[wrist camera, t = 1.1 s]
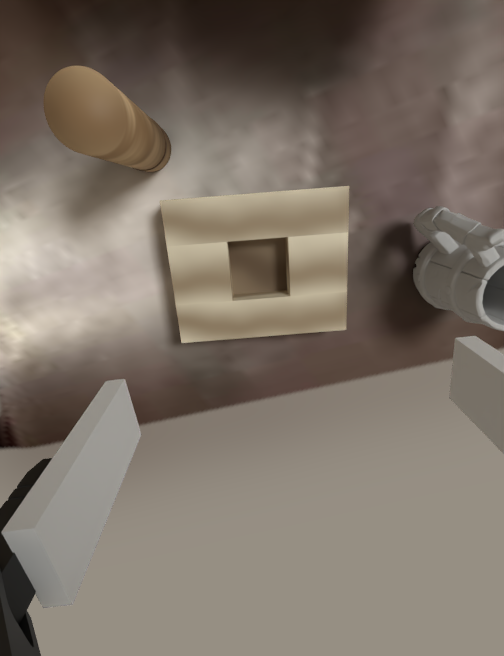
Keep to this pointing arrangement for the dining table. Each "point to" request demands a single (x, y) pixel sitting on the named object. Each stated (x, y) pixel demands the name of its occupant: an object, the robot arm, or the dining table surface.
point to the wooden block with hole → (258, 263)
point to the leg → (103, 121)
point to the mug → (461, 266)
